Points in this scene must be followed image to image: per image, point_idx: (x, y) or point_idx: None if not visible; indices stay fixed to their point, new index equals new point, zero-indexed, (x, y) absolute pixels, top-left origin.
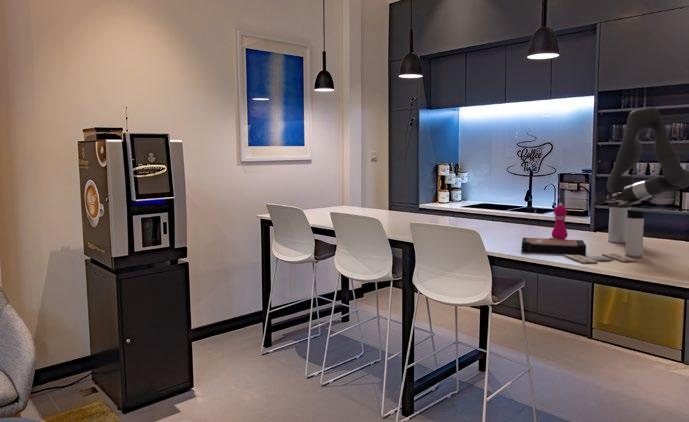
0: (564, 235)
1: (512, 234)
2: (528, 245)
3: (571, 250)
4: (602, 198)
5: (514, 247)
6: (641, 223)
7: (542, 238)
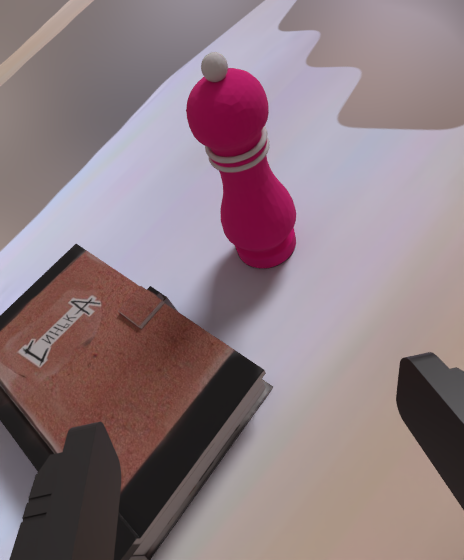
0: (257, 245)
1: None
2: None
3: None
4: (43, 545)
5: None
6: None
7: (123, 277)
